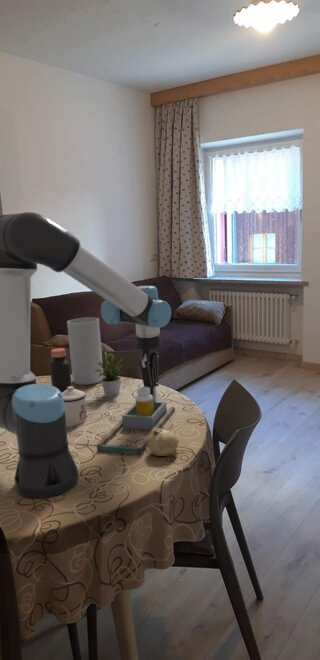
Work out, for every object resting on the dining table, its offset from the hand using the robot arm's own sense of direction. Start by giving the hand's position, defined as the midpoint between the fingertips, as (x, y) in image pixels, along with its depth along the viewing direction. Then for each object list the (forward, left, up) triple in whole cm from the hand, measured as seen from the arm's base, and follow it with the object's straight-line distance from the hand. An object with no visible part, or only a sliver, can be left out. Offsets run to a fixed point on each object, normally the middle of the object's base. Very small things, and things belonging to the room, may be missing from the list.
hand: (152, 406), depth 164 cm
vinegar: (+4, +35, -3) cm, 35 cm away
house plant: (+17, +23, -3) cm, 29 cm away
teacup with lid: (-9, +24, -3) cm, 26 cm away
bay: (-13, 0, -3) cm, 13 cm away
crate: (-7, 0, -2) cm, 8 cm away
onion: (-27, -12, -3) cm, 30 cm away
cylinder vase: (+32, +39, -3) cm, 50 cm away
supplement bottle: (-8, 0, -1) cm, 8 cm away
